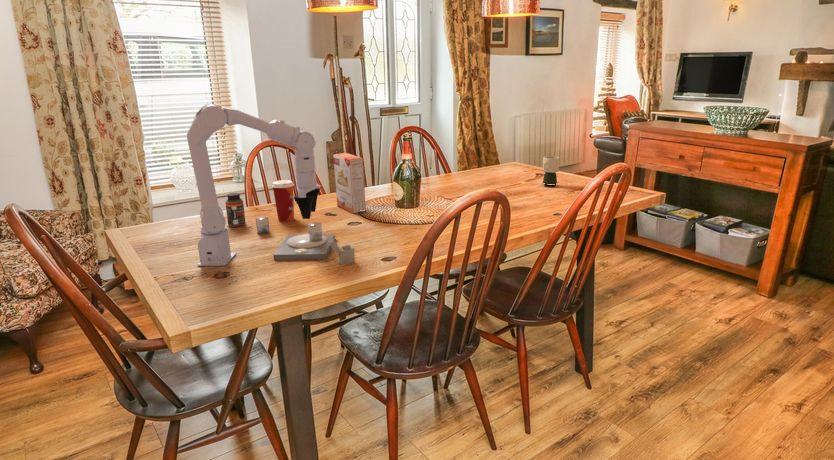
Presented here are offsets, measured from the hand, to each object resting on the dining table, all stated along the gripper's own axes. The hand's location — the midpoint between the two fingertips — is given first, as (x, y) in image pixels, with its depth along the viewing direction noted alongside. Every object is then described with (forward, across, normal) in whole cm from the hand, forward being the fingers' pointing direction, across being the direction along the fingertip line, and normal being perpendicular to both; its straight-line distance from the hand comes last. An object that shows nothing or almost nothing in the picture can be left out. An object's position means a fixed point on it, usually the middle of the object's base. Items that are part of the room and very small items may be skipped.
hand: (309, 215), depth 159 cm
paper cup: (+10, +29, +15) cm, 34 cm away
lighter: (+10, -16, -12) cm, 23 cm away
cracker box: (+10, +42, -7) cm, 43 cm away
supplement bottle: (+10, +22, +31) cm, 40 cm away
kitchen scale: (+10, -3, +1) cm, 10 cm away
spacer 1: (+10, +14, +19) cm, 25 cm away
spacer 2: (+8, -1, -2) cm, 8 cm away
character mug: (+10, +76, -92) cm, 120 cm away
